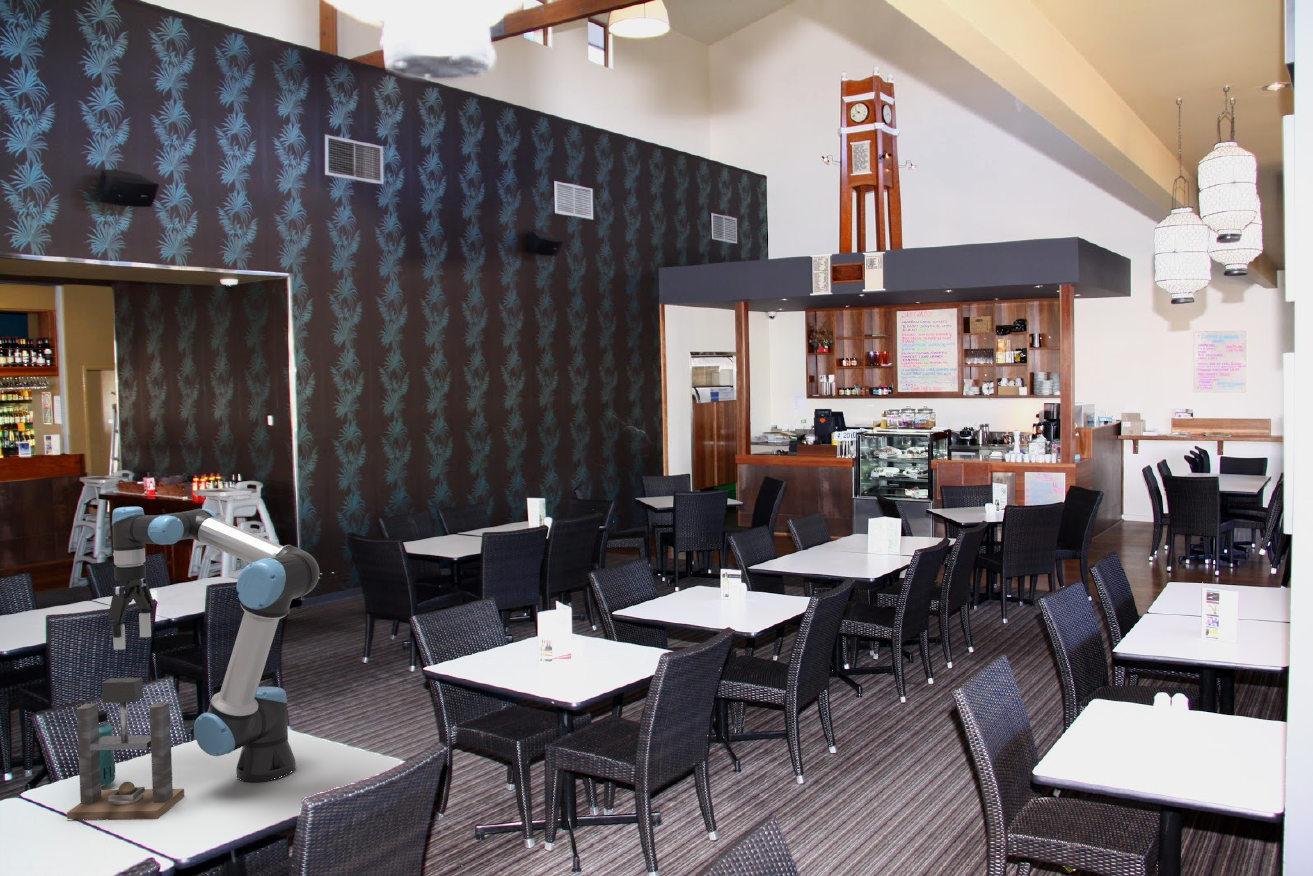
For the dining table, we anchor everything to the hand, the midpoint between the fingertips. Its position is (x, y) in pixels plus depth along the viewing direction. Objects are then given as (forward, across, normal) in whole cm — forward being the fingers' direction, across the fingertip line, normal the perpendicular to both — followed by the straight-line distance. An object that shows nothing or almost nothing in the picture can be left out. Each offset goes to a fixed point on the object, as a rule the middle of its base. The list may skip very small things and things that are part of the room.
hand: (132, 643), depth 273 cm
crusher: (+21, +21, +8) cm, 31 cm away
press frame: (+37, +21, +8) cm, 43 cm away
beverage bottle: (+37, +7, -6) cm, 38 cm away
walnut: (+32, +21, +8) cm, 39 cm away
